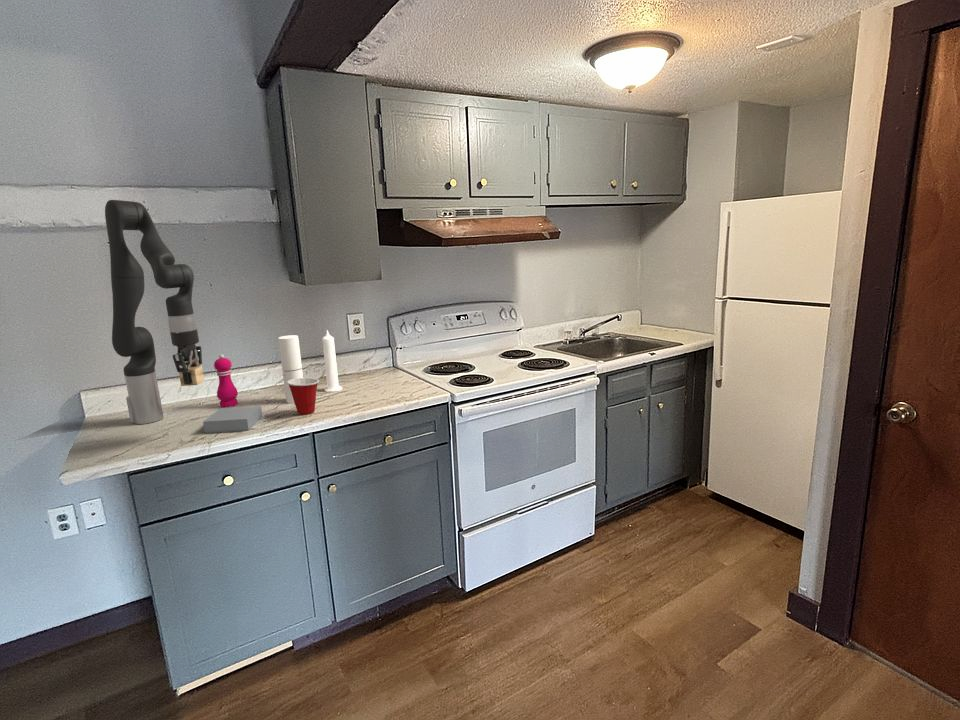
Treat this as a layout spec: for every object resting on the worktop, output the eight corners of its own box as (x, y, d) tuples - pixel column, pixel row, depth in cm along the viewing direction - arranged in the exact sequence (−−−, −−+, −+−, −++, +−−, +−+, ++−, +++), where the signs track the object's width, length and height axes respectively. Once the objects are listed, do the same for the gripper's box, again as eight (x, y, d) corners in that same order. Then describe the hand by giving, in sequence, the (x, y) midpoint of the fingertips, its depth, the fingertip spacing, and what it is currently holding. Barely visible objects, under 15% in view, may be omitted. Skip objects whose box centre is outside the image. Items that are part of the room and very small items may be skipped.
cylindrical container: (297, 403, 203) (289, 339, 197) (282, 402, 205) (274, 338, 199) (309, 398, 209) (302, 335, 204) (294, 397, 212) (286, 334, 206)
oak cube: (181, 386, 169) (178, 370, 168) (188, 381, 174) (186, 366, 172) (197, 385, 169) (194, 369, 168) (204, 380, 174) (201, 366, 173)
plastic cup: (326, 413, 190) (322, 380, 187) (295, 419, 185) (290, 385, 182) (318, 405, 199) (314, 374, 197) (288, 411, 194) (284, 379, 191)
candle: (345, 387, 222) (339, 328, 216) (337, 392, 215) (330, 331, 210) (329, 387, 224) (323, 328, 218) (321, 392, 217) (314, 331, 211)
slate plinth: (205, 433, 175) (203, 421, 174) (222, 419, 188) (220, 408, 187) (248, 430, 176) (247, 418, 175) (262, 416, 189) (261, 405, 188)
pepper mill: (231, 408, 201) (223, 356, 196) (214, 407, 202) (206, 356, 197) (243, 402, 207) (235, 352, 203) (226, 401, 209) (219, 352, 204)
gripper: (182, 326, 174) (191, 376, 178) (158, 333, 160) (169, 388, 164) (206, 324, 174) (214, 375, 178) (184, 332, 160) (193, 387, 164)
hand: (192, 381), depth 171 cm, fingers closed on oak cube, 5 cm apart
